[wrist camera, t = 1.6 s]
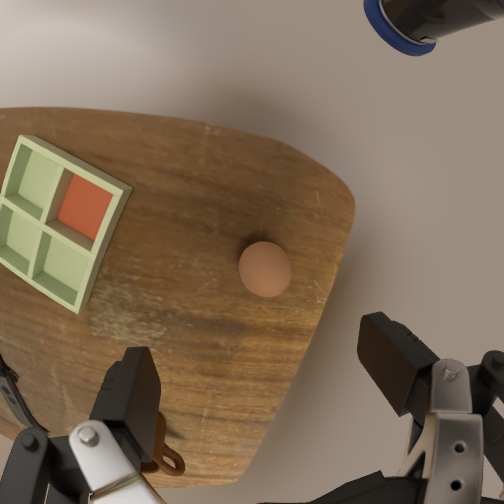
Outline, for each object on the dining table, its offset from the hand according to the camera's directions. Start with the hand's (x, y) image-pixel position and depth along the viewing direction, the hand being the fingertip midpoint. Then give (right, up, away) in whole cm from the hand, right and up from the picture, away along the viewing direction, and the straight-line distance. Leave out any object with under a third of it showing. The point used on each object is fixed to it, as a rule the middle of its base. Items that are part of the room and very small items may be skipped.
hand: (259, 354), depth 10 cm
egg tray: (-23, +8, +17) cm, 30 cm away
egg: (0, +3, +22) cm, 22 cm away
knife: (-45, -20, +23) cm, 55 cm away
